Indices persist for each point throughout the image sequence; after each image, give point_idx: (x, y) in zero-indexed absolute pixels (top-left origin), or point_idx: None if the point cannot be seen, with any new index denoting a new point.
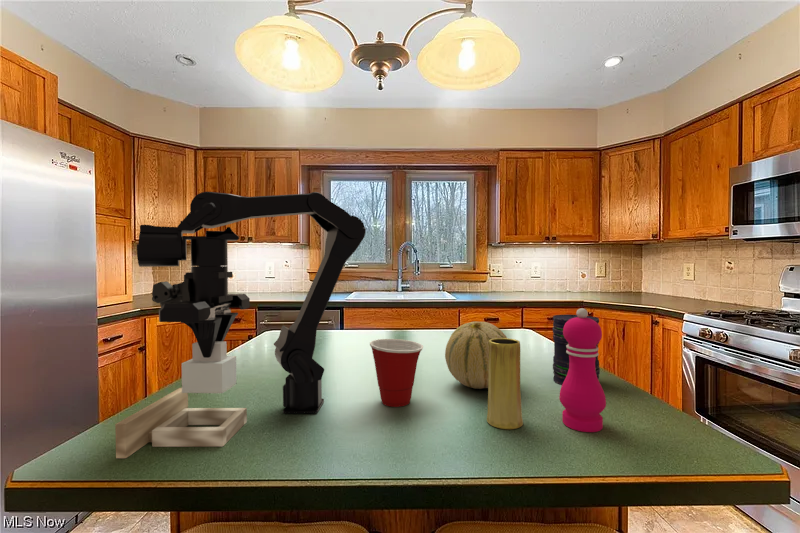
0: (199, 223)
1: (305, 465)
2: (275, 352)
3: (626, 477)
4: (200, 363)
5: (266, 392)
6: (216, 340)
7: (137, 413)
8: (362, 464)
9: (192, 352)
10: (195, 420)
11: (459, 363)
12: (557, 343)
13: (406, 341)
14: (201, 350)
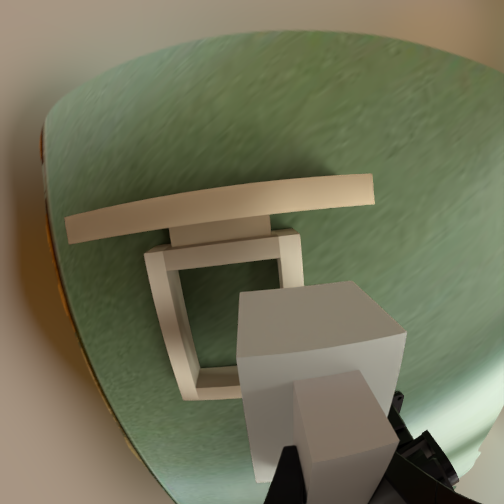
0: None
1: (174, 469)
2: (425, 472)
3: None
4: (248, 433)
5: (460, 309)
6: (373, 500)
7: (124, 214)
8: (194, 497)
9: (303, 414)
10: (279, 270)
11: None
12: None
13: None
14: (275, 475)
